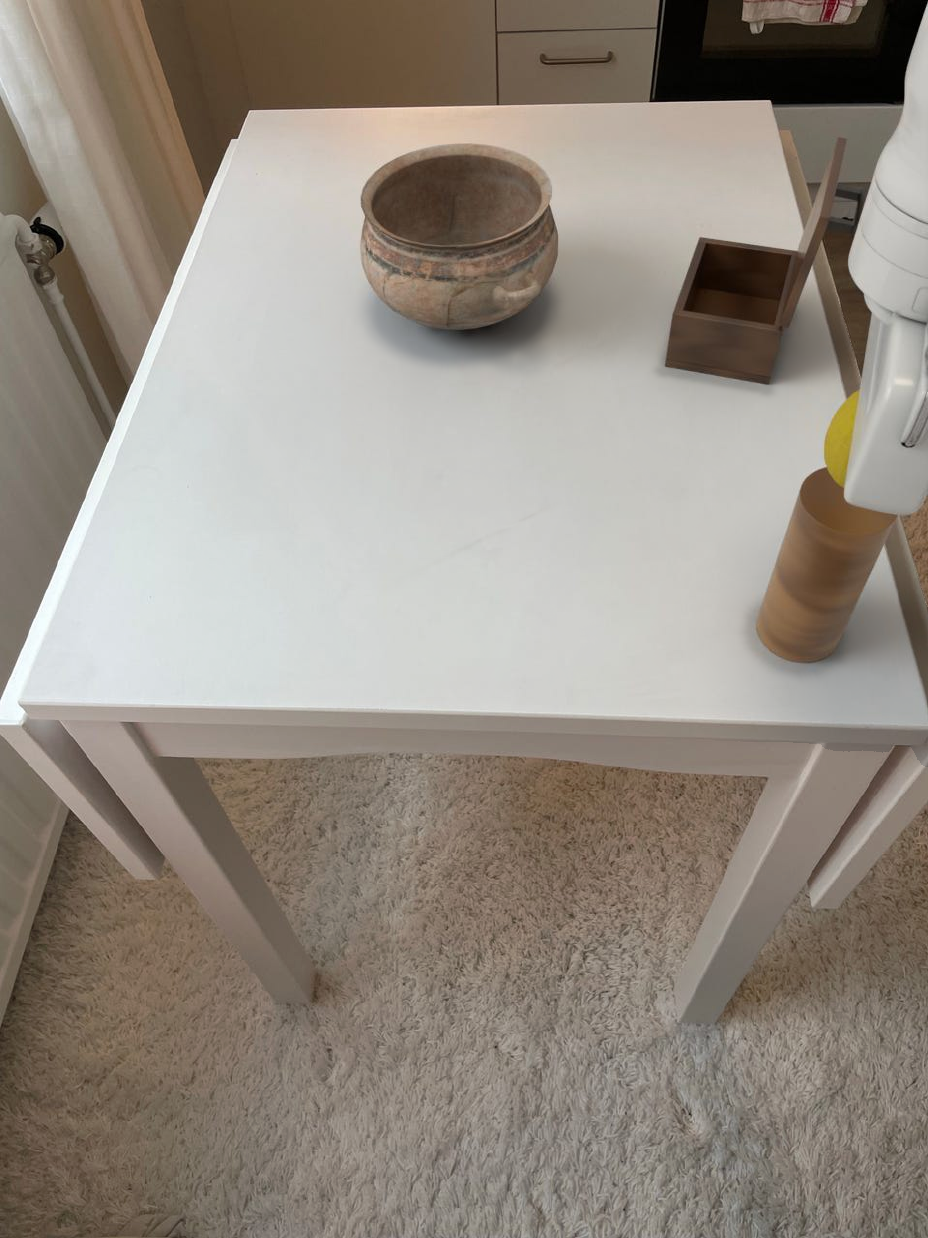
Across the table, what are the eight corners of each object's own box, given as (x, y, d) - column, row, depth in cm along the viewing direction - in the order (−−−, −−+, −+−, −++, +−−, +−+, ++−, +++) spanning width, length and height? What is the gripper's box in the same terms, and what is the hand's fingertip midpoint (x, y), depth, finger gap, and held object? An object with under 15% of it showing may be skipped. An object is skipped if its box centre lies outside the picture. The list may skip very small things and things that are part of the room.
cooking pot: (325, 278, 101) (304, 165, 91) (478, 220, 106) (473, 108, 96) (444, 411, 87) (434, 295, 78) (612, 337, 92) (622, 220, 83)
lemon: (907, 466, 60) (954, 365, 53) (898, 530, 57) (946, 432, 50) (817, 448, 61) (851, 347, 55) (803, 510, 58) (838, 411, 52)
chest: (664, 366, 90) (672, 313, 85) (691, 288, 97) (699, 236, 92) (768, 384, 87) (782, 331, 83) (787, 303, 94) (801, 250, 90)
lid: (819, 215, 74) (882, 229, 73) (838, 136, 81) (895, 147, 80) (778, 326, 82) (834, 339, 82) (798, 245, 89) (850, 257, 89)
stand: (843, 608, 72) (903, 475, 61) (834, 671, 69) (895, 543, 57) (762, 590, 73) (806, 457, 62) (750, 651, 70) (793, 522, 59)
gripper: (1022, 392, 39) (910, 598, 50) (1024, 145, 50) (933, 358, 62) (862, 365, 41) (788, 571, 52) (899, 131, 52) (832, 341, 63)
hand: (867, 453), depth 57 cm, fingers closed on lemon, 5 cm apart
